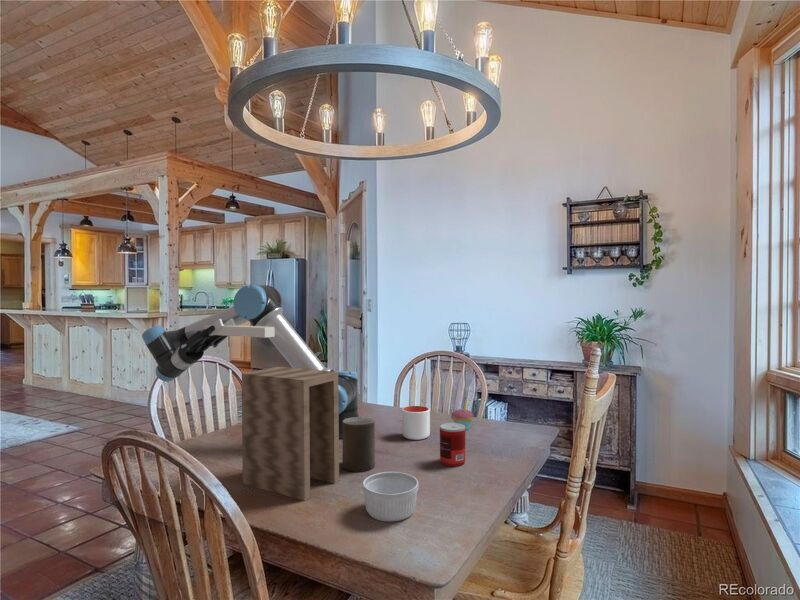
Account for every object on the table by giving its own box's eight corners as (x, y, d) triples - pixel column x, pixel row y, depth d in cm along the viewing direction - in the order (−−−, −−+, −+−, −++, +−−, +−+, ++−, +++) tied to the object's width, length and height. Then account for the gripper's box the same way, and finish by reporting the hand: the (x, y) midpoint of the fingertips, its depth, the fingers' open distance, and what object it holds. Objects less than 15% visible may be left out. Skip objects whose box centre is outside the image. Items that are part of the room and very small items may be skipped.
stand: (242, 483, 127) (241, 373, 126) (279, 467, 139) (278, 366, 138) (304, 500, 116) (303, 380, 115) (339, 481, 128) (338, 372, 128)
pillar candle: (366, 473, 133) (367, 421, 133) (336, 469, 136) (336, 418, 136) (380, 462, 142) (380, 413, 142) (351, 459, 145) (351, 411, 145)
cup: (427, 441, 162) (427, 412, 162) (399, 440, 164) (399, 411, 164) (431, 433, 172) (431, 406, 172) (405, 431, 174) (404, 405, 174)
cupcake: (477, 427, 179) (476, 396, 179) (467, 432, 172) (467, 400, 172) (456, 424, 184) (456, 393, 184) (447, 429, 177) (446, 397, 177)
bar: (203, 334, 154) (203, 325, 154) (213, 333, 158) (213, 324, 158) (264, 337, 140) (264, 327, 140) (274, 336, 144) (274, 326, 144)
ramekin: (422, 523, 104) (421, 492, 104) (362, 526, 103) (362, 495, 103) (415, 498, 117) (415, 470, 117) (362, 500, 116) (362, 472, 116)
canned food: (467, 459, 144) (467, 423, 144) (462, 468, 137) (462, 430, 137) (443, 456, 147) (443, 421, 147) (437, 465, 139) (436, 428, 139)
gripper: (212, 361, 168) (251, 330, 158) (168, 367, 153) (209, 334, 143) (205, 342, 170) (243, 311, 160) (161, 347, 155) (200, 312, 145)
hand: (227, 322), depth 152 cm, fingers closed on bar, 4 cm apart
